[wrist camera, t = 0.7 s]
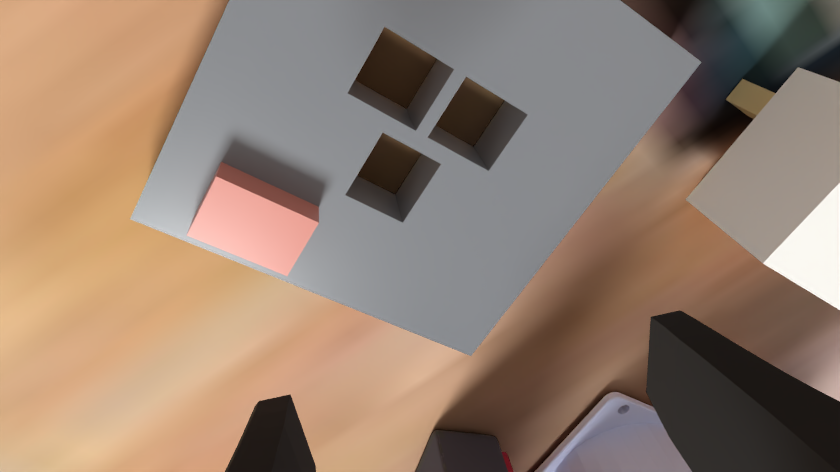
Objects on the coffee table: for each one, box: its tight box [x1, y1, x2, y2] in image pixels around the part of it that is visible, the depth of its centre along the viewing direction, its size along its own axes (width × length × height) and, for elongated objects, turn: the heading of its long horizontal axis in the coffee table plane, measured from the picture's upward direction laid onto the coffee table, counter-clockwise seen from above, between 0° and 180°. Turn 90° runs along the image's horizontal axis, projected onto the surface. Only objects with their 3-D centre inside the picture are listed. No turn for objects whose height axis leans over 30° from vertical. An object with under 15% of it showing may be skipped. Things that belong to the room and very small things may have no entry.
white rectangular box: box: [685, 67, 840, 310], centre depth 19 cm, size 4×5×6 cm
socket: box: [130, 0, 701, 356], centre depth 18 cm, size 12×12×3 cm
